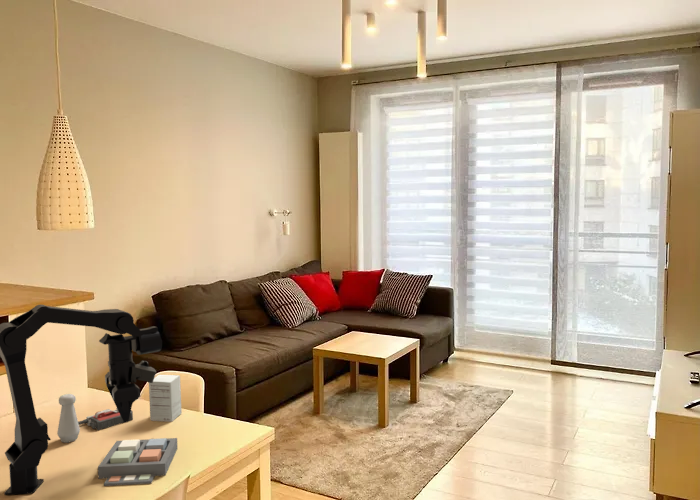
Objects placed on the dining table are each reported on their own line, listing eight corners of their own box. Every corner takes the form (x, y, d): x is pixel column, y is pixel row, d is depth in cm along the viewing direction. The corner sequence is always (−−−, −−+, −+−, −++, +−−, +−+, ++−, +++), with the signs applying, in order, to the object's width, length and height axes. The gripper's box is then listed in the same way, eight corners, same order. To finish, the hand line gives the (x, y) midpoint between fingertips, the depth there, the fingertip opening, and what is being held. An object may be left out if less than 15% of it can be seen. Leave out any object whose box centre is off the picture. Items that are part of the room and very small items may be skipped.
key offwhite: (136, 453, 156) (135, 446, 156) (118, 454, 156) (118, 446, 156) (140, 446, 161) (139, 439, 161) (123, 447, 160) (122, 440, 160)
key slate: (163, 452, 157) (163, 444, 157) (146, 453, 157) (145, 445, 156) (166, 445, 161) (166, 438, 161) (150, 446, 161) (149, 438, 161)
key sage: (128, 465, 149) (128, 457, 149) (110, 466, 149) (110, 458, 149) (133, 457, 154) (133, 450, 154) (115, 458, 153) (115, 451, 153)
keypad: (162, 482, 144) (161, 470, 144) (93, 486, 143) (92, 474, 142) (177, 448, 164) (177, 438, 164) (117, 451, 163) (116, 440, 162)
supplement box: (160, 412, 192) (159, 374, 191) (182, 413, 191) (181, 374, 190) (149, 421, 185) (147, 380, 184) (172, 422, 184) (170, 381, 183)
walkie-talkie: (124, 413, 193) (60, 431, 178) (123, 400, 192) (59, 417, 178) (137, 420, 187) (72, 439, 172) (137, 406, 187) (72, 424, 172)
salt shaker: (71, 444, 167) (69, 399, 166) (53, 443, 169) (50, 398, 167) (84, 436, 173) (82, 392, 172) (66, 435, 174) (64, 391, 173)
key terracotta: (157, 463, 150) (157, 456, 150) (139, 464, 150) (139, 457, 150) (161, 456, 154) (161, 448, 154) (143, 457, 154) (143, 449, 154)
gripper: (159, 362, 151) (162, 422, 153) (146, 346, 168) (148, 400, 169) (112, 368, 146) (115, 430, 147) (103, 351, 162) (106, 407, 164)
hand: (123, 416), depth 157 cm, fingers open, 9 cm apart
